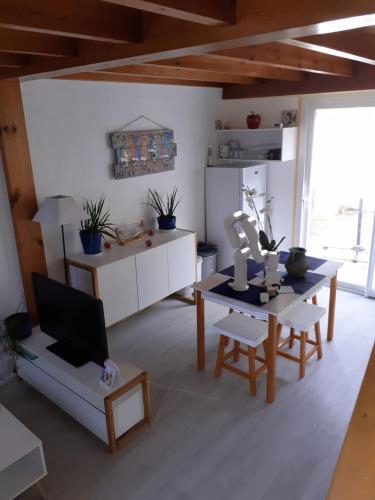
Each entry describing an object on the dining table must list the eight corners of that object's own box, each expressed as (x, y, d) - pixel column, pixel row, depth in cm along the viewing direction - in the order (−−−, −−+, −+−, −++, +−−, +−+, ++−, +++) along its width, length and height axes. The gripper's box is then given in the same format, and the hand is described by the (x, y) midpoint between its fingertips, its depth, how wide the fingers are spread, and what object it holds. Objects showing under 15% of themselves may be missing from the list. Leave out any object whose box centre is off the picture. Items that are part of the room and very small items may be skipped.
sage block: (261, 302, 296) (261, 296, 295) (260, 299, 301) (260, 293, 299) (268, 302, 296) (268, 295, 295) (267, 299, 301) (267, 292, 299)
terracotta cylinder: (265, 290, 315) (265, 283, 313) (264, 287, 320) (264, 280, 318) (272, 290, 315) (272, 282, 313) (270, 287, 320) (271, 280, 318)
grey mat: (278, 293, 309) (278, 292, 309) (275, 287, 320) (275, 286, 320) (294, 292, 309) (294, 292, 309) (290, 286, 321) (290, 285, 320)
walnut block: (268, 296, 306) (268, 289, 304) (267, 293, 311) (267, 287, 309) (275, 295, 306) (275, 289, 304) (273, 292, 311) (273, 286, 309)
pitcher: (313, 274, 342) (315, 246, 334) (303, 283, 326) (304, 253, 318) (289, 269, 354) (291, 242, 346) (279, 277, 337) (280, 249, 329)
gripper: (261, 271, 298) (261, 292, 303) (285, 269, 298) (285, 291, 303) (259, 267, 305) (259, 288, 310) (282, 266, 305) (282, 287, 310)
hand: (272, 289), depth 306 cm, fingers open, 9 cm apart
